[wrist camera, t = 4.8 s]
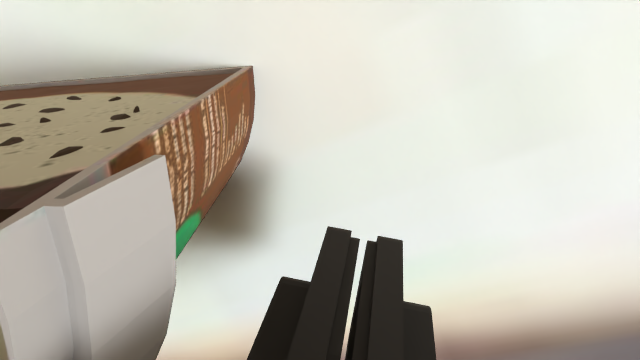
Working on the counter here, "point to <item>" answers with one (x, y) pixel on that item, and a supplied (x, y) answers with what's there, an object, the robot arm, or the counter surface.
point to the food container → (108, 204)
